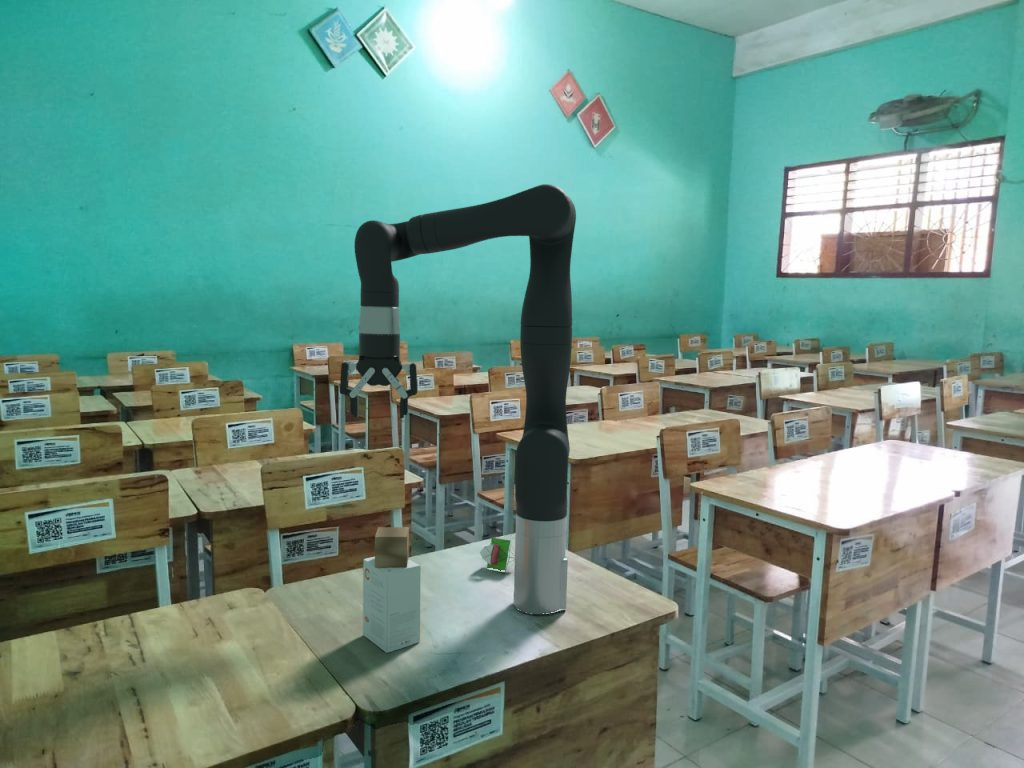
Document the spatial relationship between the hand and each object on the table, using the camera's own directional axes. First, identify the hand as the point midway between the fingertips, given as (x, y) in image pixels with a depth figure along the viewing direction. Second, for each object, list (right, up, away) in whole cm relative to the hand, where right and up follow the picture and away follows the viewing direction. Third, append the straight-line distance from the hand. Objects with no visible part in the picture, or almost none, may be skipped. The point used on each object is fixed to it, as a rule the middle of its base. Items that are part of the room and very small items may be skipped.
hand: (379, 417), depth 133 cm
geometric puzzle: (+22, -33, +14) cm, 42 cm away
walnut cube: (+6, -22, -19) cm, 30 cm away
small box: (+5, -36, -18) cm, 40 cm away
